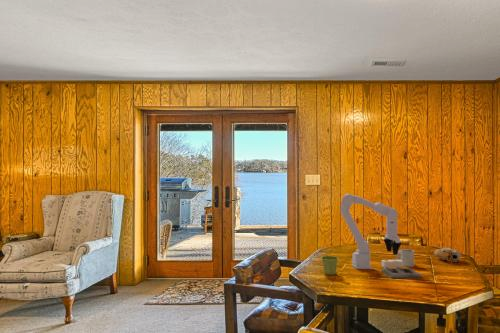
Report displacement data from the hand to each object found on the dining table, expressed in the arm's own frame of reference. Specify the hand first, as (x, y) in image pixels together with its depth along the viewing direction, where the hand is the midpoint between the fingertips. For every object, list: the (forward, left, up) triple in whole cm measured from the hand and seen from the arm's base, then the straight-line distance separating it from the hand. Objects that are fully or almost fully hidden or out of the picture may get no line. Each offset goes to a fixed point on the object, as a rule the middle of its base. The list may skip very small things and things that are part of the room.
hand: (392, 252), depth 195 cm
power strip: (0, 0, -9) cm, 9 cm away
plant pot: (-38, -6, -10) cm, 40 cm away
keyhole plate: (0, -10, -9) cm, 14 cm away
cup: (+12, +9, -10) cm, 18 cm away
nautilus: (+42, +15, -10) cm, 46 cm away
